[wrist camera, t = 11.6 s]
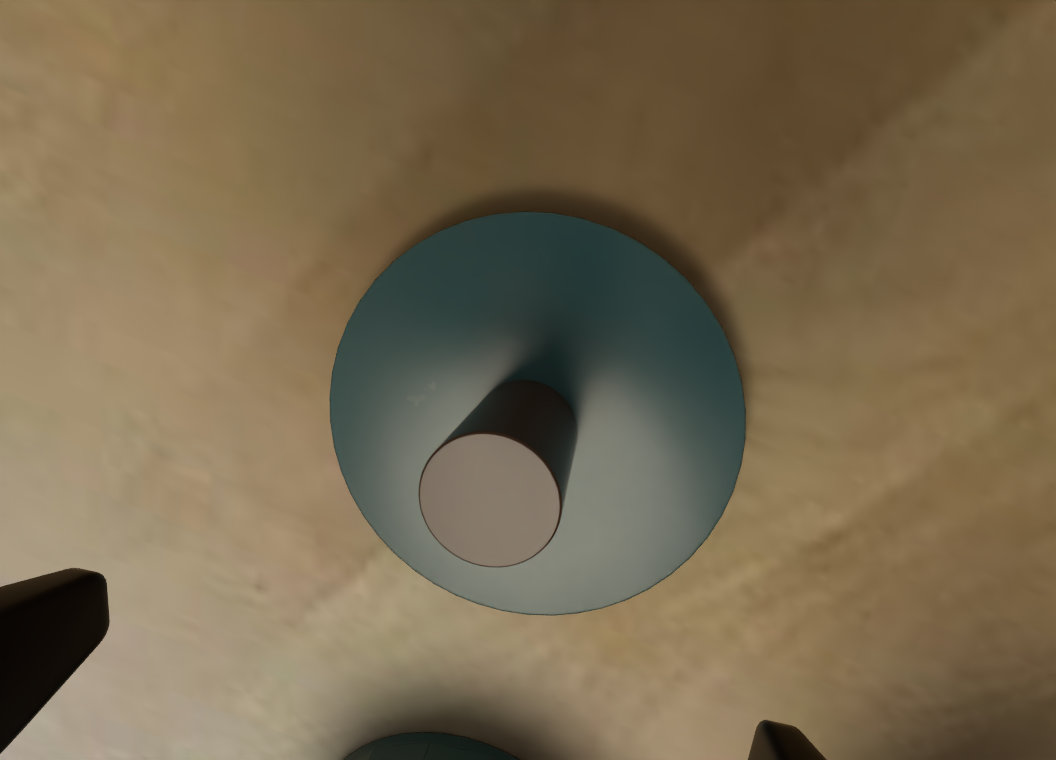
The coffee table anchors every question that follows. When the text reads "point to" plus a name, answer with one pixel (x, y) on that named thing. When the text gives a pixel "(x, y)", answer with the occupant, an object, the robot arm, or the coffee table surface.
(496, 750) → the tin
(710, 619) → the coffee table surface
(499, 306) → the tin lid
